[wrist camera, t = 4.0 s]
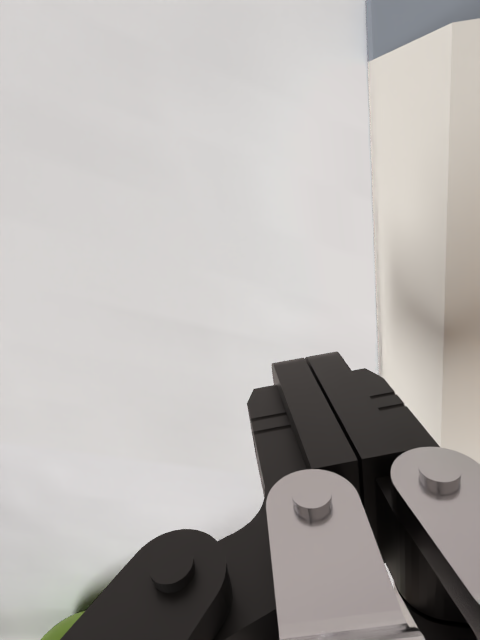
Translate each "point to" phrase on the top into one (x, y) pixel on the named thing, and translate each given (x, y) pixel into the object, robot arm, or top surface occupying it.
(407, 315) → the white rectangular block
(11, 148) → the top surface
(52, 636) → the green maraca
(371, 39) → the mat
